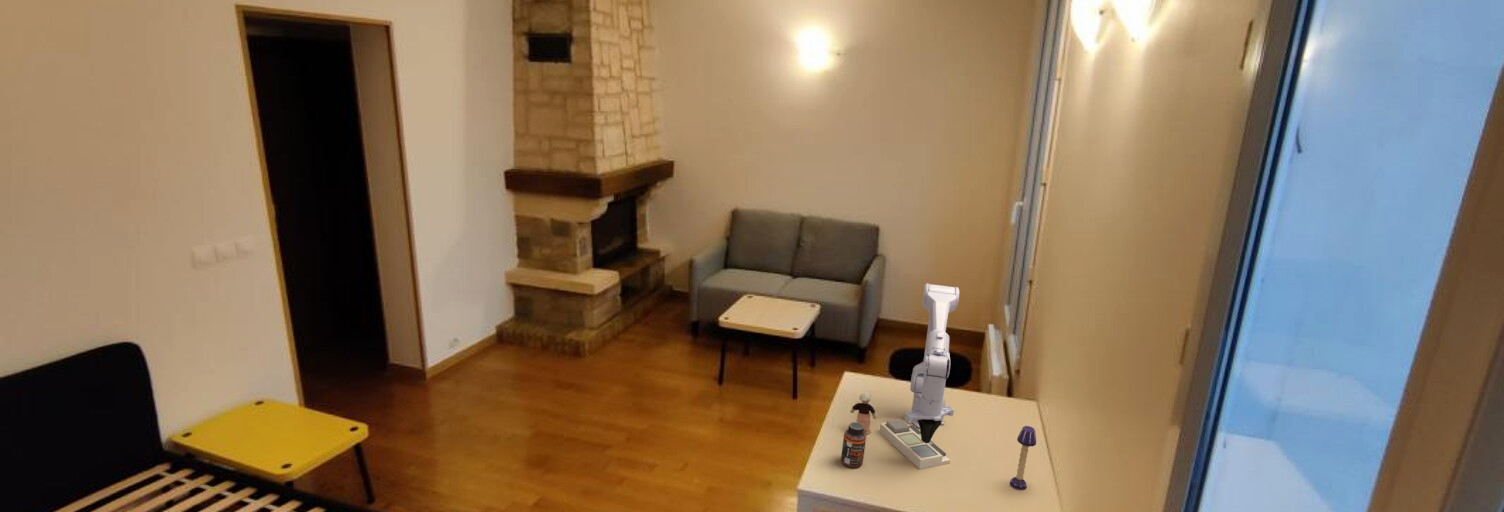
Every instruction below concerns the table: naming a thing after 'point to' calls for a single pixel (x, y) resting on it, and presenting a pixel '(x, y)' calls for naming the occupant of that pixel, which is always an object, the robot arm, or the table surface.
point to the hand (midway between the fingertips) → (925, 441)
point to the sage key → (910, 439)
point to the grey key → (897, 426)
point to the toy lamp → (1023, 455)
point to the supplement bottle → (853, 445)
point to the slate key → (923, 451)
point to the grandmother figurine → (864, 411)
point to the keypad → (907, 450)
